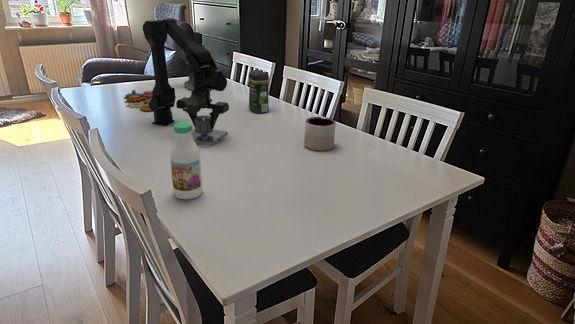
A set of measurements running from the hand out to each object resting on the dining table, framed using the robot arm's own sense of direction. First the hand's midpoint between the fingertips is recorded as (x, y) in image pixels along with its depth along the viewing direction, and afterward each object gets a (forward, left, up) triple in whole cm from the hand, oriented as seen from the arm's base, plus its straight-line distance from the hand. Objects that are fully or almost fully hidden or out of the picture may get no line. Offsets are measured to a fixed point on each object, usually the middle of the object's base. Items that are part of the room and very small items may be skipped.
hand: (203, 127), depth 144 cm
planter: (+43, +7, -4) cm, 43 cm away
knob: (0, 0, -1) cm, 1 cm away
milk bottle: (+17, -40, -4) cm, 44 cm away
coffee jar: (+7, +39, -4) cm, 40 cm away
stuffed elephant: (-38, +67, -4) cm, 78 cm away
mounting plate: (0, 0, -4) cm, 4 cm away
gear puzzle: (-48, +29, -4) cm, 56 cm away
